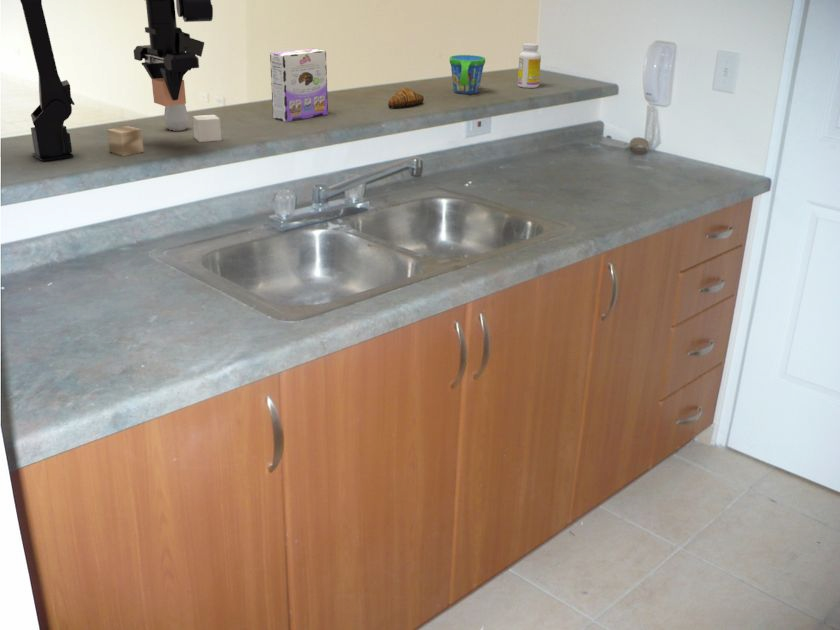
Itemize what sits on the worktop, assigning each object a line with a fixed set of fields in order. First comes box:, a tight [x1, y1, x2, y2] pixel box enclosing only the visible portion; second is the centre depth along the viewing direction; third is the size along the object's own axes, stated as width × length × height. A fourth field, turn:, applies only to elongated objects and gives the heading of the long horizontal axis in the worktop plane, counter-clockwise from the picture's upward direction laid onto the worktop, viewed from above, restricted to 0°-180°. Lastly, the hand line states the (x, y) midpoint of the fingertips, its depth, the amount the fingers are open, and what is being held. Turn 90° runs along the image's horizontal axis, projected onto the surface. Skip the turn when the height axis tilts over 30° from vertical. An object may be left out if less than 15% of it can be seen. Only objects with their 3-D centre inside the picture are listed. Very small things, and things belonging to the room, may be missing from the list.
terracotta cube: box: [151, 78, 187, 107], centre depth 190 cm, size 5×5×5 cm
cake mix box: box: [269, 47, 329, 123], centre depth 224 cm, size 14×6×16 cm, turn 134°
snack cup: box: [449, 54, 486, 95], centre depth 262 cm, size 16×10×10 cm
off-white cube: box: [192, 114, 222, 143], centre depth 202 cm, size 5×5×5 cm
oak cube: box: [106, 125, 145, 157], centre depth 190 cm, size 5×5×5 cm
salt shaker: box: [163, 104, 190, 132], centre depth 209 cm, size 6×6×13 cm
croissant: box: [387, 87, 425, 109], centre depth 243 cm, size 14×7×5 cm, turn 139°
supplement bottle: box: [517, 42, 542, 89], centre depth 273 cm, size 7×7×13 cm
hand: (169, 98), depth 191 cm, fingers closed on terracotta cube, 5 cm apart
